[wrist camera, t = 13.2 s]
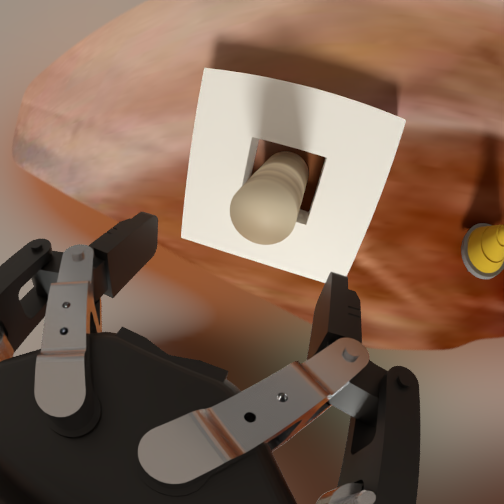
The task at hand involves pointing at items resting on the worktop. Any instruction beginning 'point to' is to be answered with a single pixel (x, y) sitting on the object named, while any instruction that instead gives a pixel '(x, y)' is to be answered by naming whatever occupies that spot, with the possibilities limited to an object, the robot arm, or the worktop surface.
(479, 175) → the worktop surface
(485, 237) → the drill bit
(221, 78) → the socket board
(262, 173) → the wooden peg
